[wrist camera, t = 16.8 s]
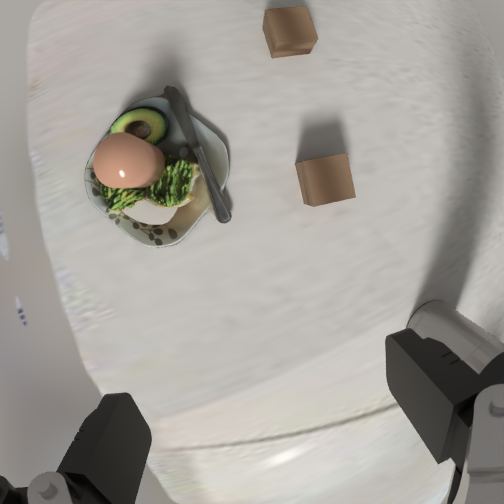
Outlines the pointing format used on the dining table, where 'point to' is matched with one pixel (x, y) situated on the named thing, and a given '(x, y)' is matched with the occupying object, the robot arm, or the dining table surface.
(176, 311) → the dining table surface
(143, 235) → the salad plate
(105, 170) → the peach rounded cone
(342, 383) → the dining table surface
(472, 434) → the robot arm
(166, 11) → the dining table surface
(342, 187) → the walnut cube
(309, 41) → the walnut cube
